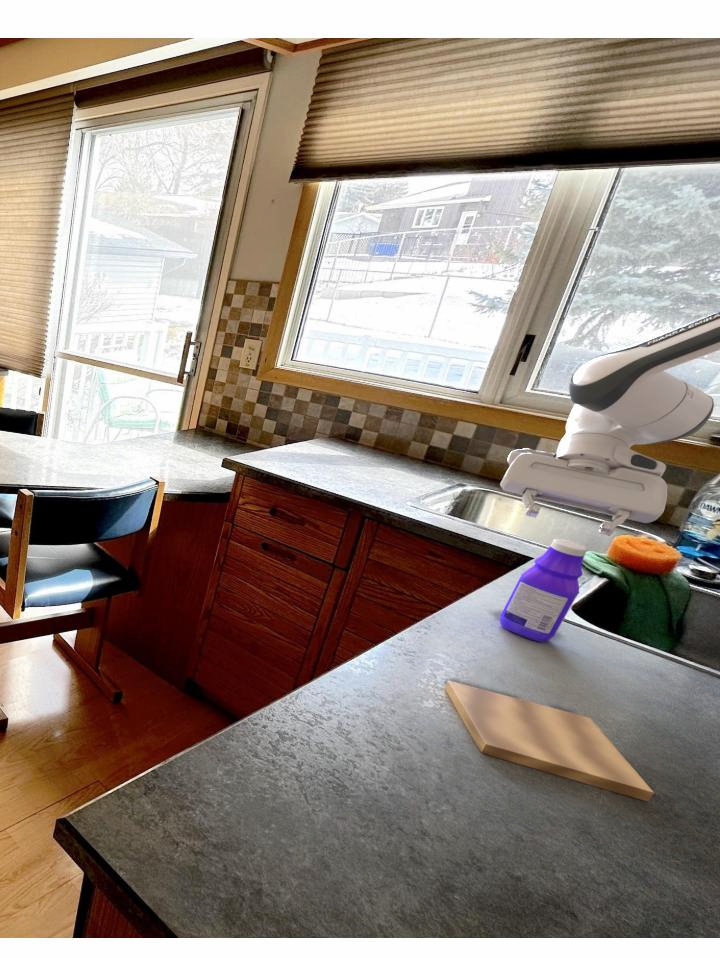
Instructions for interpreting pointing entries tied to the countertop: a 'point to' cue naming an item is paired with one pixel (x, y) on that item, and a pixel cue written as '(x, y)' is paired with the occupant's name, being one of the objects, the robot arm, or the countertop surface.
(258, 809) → the countertop surface
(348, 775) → the countertop surface
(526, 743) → the board
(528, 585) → the bottle
